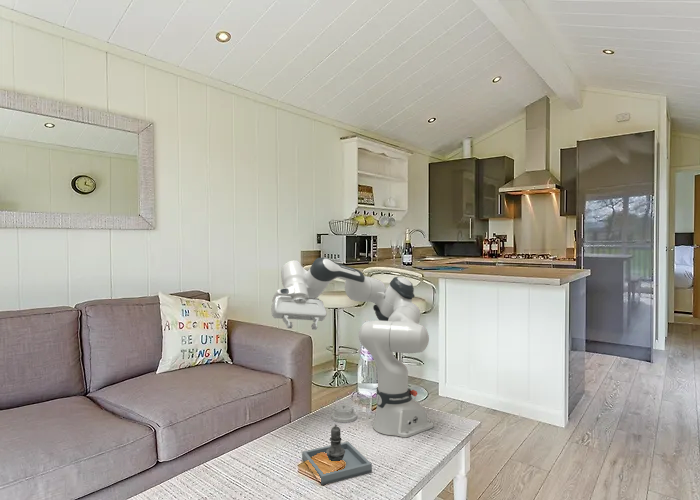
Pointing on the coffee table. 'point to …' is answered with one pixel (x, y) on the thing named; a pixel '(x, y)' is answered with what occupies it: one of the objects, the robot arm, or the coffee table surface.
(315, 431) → the coffee table surface
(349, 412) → the mechanical component
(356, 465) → the tray
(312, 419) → the coffee table surface
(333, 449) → the dark stone stupa
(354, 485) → the coffee table surface
